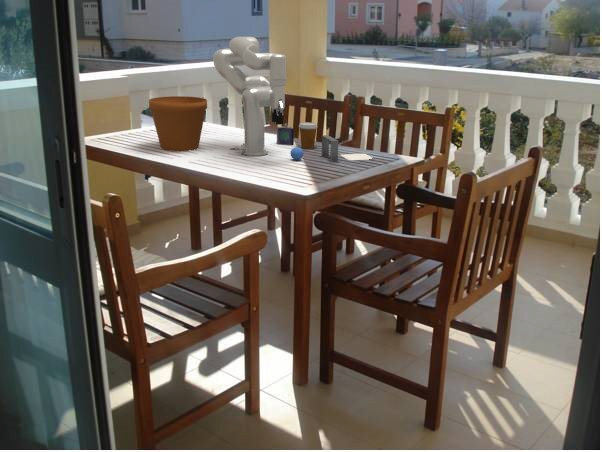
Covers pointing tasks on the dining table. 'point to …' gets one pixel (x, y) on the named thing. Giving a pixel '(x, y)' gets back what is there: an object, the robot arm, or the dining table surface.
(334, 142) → the bridge
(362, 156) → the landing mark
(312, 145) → the disposable coffee cup
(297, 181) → the dining table surface
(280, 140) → the flask
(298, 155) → the ball
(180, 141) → the flowerpot
